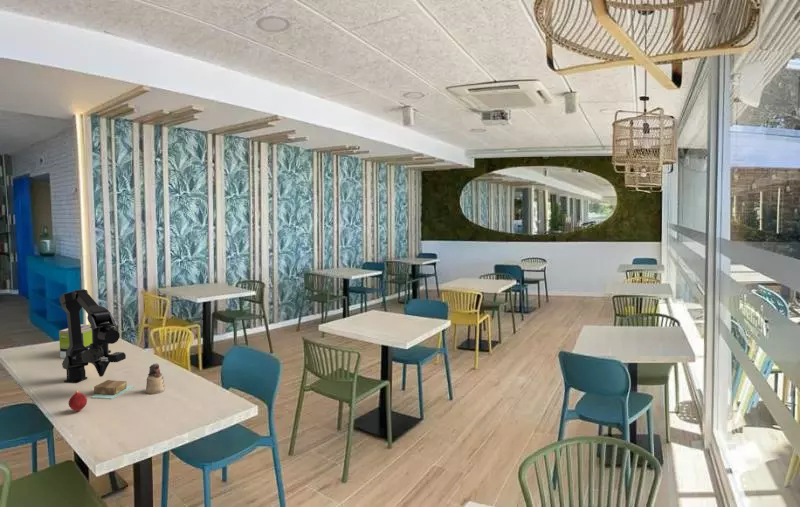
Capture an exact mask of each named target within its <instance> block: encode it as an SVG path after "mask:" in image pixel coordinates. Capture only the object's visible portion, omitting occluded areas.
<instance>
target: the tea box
mask: <svg viewBox="0 0 800 507" xmlns="http://www.w3.org/2000/svg"><path fill="white" fill-rule="evenodd" d="M90 327H91V324H84V323H83V324H82V323H81V333H82V344H83V345H84V346H85V347H87V348H88V349H89V348H90V344H91V343H92V328H90ZM58 338H59V340H58V341H59V355H60V356H59V357H60V358H61V359H65V357H66V351H67V349H68V347H69V346H70V344H69V333H68V327H67V328H63V329H61V330H59V331H58Z"/></svg>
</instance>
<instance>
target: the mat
mask: <svg viewBox="0 0 800 507" xmlns="http://www.w3.org/2000/svg"><path fill="white" fill-rule="evenodd" d="M133 388H134V385H126V389H124V390H122V391H120V392H118V393H117V394H115V395H106V394H93V395H92V396H91V397H90V399H101V398H102V399H103V400H104V399H105V400H113V399H115V398H116V397H118V396H120V395H122V394H123V393H125V392H127V391H130V389H133ZM102 399H101V400H102Z"/></svg>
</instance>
